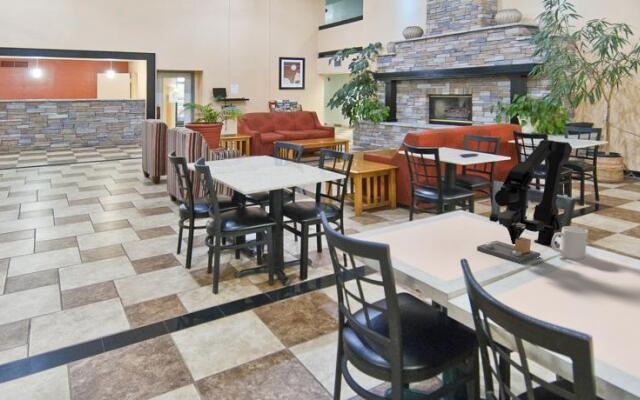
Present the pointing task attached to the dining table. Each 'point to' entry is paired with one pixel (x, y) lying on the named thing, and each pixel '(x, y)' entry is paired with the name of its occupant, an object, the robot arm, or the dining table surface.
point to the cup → (571, 242)
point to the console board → (507, 251)
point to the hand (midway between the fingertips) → (513, 244)
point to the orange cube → (522, 244)
